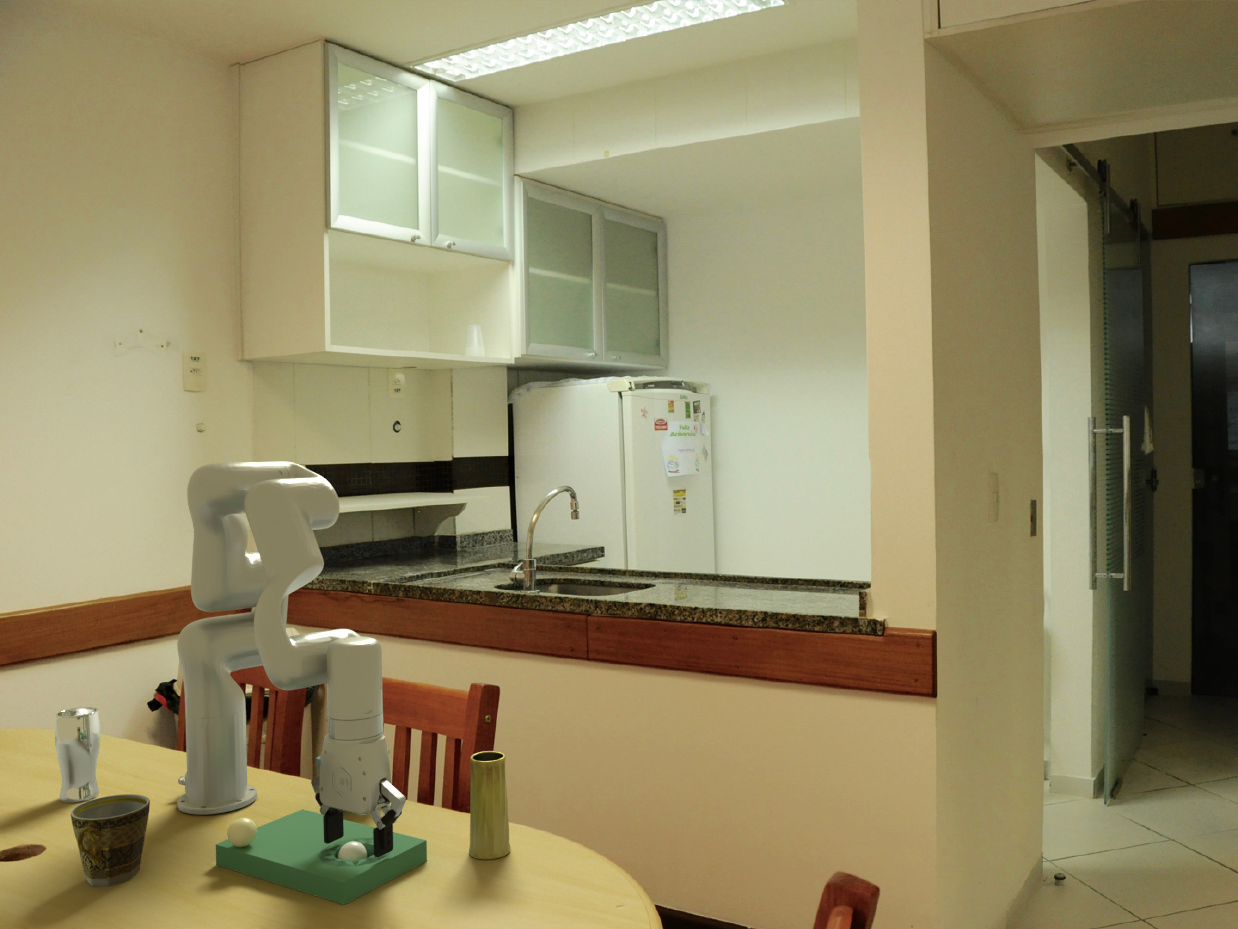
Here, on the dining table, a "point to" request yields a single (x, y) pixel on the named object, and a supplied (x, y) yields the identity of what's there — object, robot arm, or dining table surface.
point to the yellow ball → (242, 832)
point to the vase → (488, 806)
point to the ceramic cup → (111, 837)
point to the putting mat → (320, 857)
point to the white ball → (352, 851)
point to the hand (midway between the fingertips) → (358, 847)
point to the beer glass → (78, 752)
